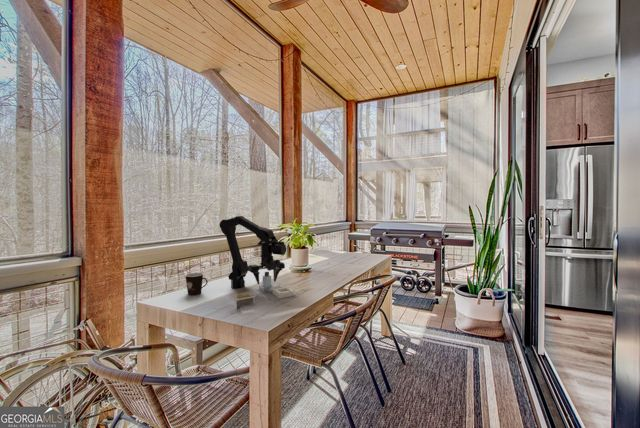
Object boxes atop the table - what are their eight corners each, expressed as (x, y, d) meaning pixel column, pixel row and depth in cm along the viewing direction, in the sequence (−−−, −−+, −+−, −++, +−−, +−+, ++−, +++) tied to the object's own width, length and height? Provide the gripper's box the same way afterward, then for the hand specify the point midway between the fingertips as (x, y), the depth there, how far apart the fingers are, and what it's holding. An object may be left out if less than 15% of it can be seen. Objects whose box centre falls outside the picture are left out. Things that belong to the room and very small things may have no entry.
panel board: (272, 304, 144) (272, 301, 144) (255, 292, 162) (255, 289, 162) (298, 298, 151) (298, 296, 151) (279, 288, 170) (279, 285, 170)
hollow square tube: (263, 293, 156) (263, 288, 156) (259, 290, 161) (259, 285, 161) (274, 291, 159) (274, 286, 159) (269, 288, 165) (269, 284, 165)
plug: (265, 292, 158) (265, 273, 158) (262, 290, 161) (262, 271, 160) (271, 291, 160) (271, 272, 159) (268, 289, 163) (268, 271, 162)
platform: (220, 307, 140) (220, 293, 140) (256, 300, 151) (256, 287, 150) (229, 315, 130) (229, 300, 130) (267, 307, 141) (267, 293, 141)
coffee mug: (182, 293, 159) (182, 274, 159) (198, 290, 165) (198, 272, 165) (192, 298, 151) (192, 278, 151) (209, 294, 157) (208, 275, 157)
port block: (279, 298, 148) (279, 293, 148) (272, 293, 155) (272, 288, 155) (294, 295, 153) (294, 290, 153) (286, 291, 160) (286, 286, 159)
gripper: (255, 257, 148) (255, 289, 148) (289, 254, 158) (289, 284, 159) (247, 254, 157) (247, 284, 158) (280, 251, 167) (280, 279, 168)
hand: (266, 282), depth 160 cm, fingers open, 9 cm apart
